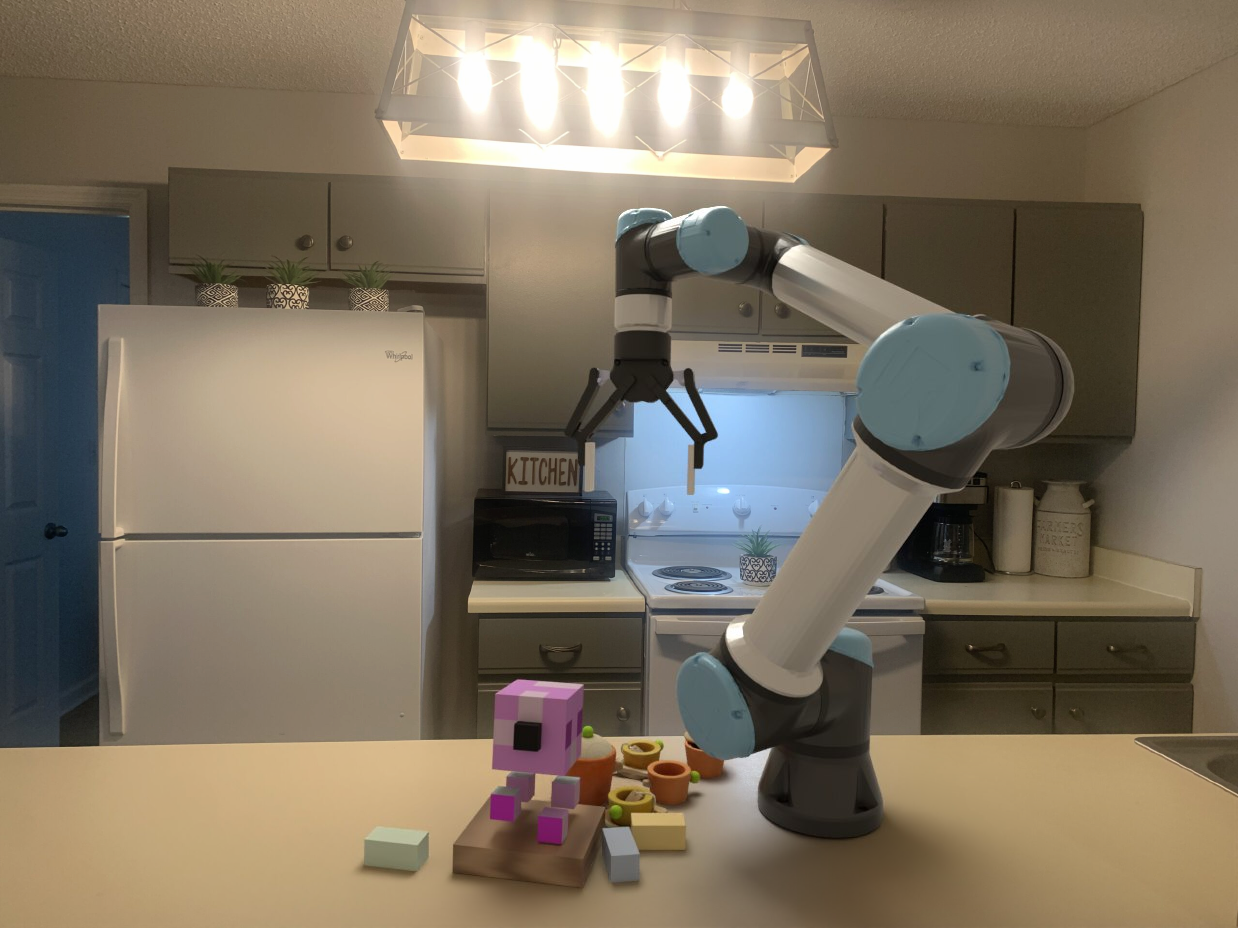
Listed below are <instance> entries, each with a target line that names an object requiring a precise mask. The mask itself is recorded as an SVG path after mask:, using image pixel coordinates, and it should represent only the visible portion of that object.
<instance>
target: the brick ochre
mask: <svg viewBox="0 0 1238 928" xmlns="http://www.w3.org/2000/svg"><path fill="white" fill-rule="evenodd" d="M631 833H632V836H633V838H634V841H635V843H636V846H637V848H638V851H645V850H646V851H649V850H650V851H657V850H658V851H659V850H660V851H661V850H662V851H677V850H678V851H679V850H680V851H682V850H683V851H685V850H686V840H687V839H686V837H687V836H686V835H687V825H686V821H685V817H684V813H683V812H668V813H631Z"/></svg>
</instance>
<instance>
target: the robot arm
mask: <svg viewBox="0 0 1238 928" xmlns="http://www.w3.org/2000/svg"><path fill="white" fill-rule="evenodd" d="M614 249H615V272H614V273H615V274H614V275H615V284H614V287H615V290H614V291H615V299H614V322H613V323H614V325H613V326H614V328H615V329H616V330H617V331H618V332H616V333H615V335H614V337H613V338H614V339H613V366H612V368H611V370H605V369H599V368H598V367H591V368H590V370H589V374H588V381H587V385H586V387H585V389H584V391H583V393H582V395H581V397H580V399H579V401H578V403H577V404H576V405H577V406H576V407H575V409H574V411H573V413H572V415H571V417H570V419H569V421H568V422H567V425H566V426H565V429H564V431H563V433H564V434H563V435H565V437H567V438H571V439H573V440H576V443H577V464H578V467H580V466H581V467H584V492H587V493H588V492H589V493H591V492H594V491H595V469H596V467H595V466H596V465H595V464H596V463H595V462H596V442H590V440H591V438H592V437H593V436H594V435H595V434H596V433H597V432H598V430H599V429H600V428H601V427H602V426H603V424H604V423H605V422H606V421H607V420H608V418H609V417H610V416H611V415H612V414H614V411H615V410H616V409H617V408H618V407H619V406H620V405H621V404H622V403H623V402H624V401H626V402H629V403H632V404H633V403H635V404H637V403H641V402H645V403H648V404H654V403H656V402H658V401H660V402H661V403H662V405H663V406H664V407H665V408H666V409H667V410H668V411H669V412H670V414H671V415H672V416H673V418H674V419H675V420H676V422H677V423H678V424H679V426H681V427H682V429H683V430H684V431H685V432H686V433H687V435H688V436H689V437H690V439H691V440H692V441H693V444H688V445H687V470H686V471H687V474H686V477H687V478H686V483H687V484H686V495H687V496H694V495H695V487H696V486H695V485H696V483H695V482H696V470H701V469H703V467H704V463H705V462H704V461H705V460H704V459H705V458H704V457H705V455H704V453H705V445H706V444H707V443H708V442H711V441H714V440H717V438H718V437H719V434H718V430H717V429H716V427H715V424H714V422H713V421H712V418H711V416H710V414H709V412H708V409H707V407H706V406H705V404H704V401H703V399H702V397H701V395H700V392H699V391H698V389H697V386H696V377H695V371H694V370H693V368H692V369H691V368H690V367H687V368H685V369H681V370H673V369H672V366H671V364H672V363H671V362H672V358H671V357H672V355H671V354H672V336H671V335H670V333H668V331H670V330H671V329H672V322H673V321H672V318H673V317H672V313H673V312H672V310H673V309H672V308H673V302H672V301H673V292H672V291H673V283H674V282H678V281H682V280H687V279H695V278H696V279H697V278H698V279H706V280H709V281H710V280H712V281H717V282H721V283H723V282H724V283H728V284H734V285H737V286H739V285H740V286H745V287H749V288H754V289H756V290H760V291H762V292H763V293H765V294H767V295H769V296H771V297H773V298H775V299H777V300H779V301H781V302H783V303H784V304H786V305H788V306H790V307H792V308H794V309H796V310H797V311H800V312H801V313H803V314H805V315H807V316H808V317H810V318H812V319H814V320H815V321H817V322H819V323H821V324H823V325H825V326H827V327H829V328H830V329H832V330H834V331H835V332H838V333H839V334H841V335H843V336H844V337H847V338H849V339H850V340H852V341H853V342H856V343H857V344H860V345H861V346H863V347H865V348H867V349H868V350H867V351H866V353H865V354H864V356H863V359H862V360H861V362H860V365H859V367H858V370H857V374H856V377H855V378H856V379H855V385H854V387H855V389H857V393H858V396H856V397H855V406H856V410H857V413H856V415H855V417H854V419H853V420H852V422H851V431H852V434H853V437H854V441H855V444H856V447H855V448H854V450H853V451H852V453H851V455H850V456H849V458H848V459H847V461H846V462H845V465H844V466H843V467H842V469H841V471H840V472H839V473H838V476H837V477H836V479H835V481H834V482H833V483H832V485H831V487H830V488H829V490H828V492H827V493H826V495H825V496H824V497H823V499H822V500H821V503H820V504H819V506H818V508H817V509H816V510H815V512H814V514H813V516H812V517H811V519H810V520H809V522H808V523H807V526H806V527H805V528H804V530H803V532H802V533H801V534H800V536H799V538H798V540H797V541H796V543H795V544H794V546H793V547H792V549H791V550H790V552H789V554H788V556H787V558H786V559H785V560H784V562H783V564H782V565H781V567H780V568H779V570H778V571H777V573H776V575H775V577H774V578H773V580H772V582H771V583H770V585H769V586H768V587H767V589H766V591H765V593H764V594H763V596H762V597H761V598H760V601H759V602H758V604H757V605H756V607H755V608H754V610H753V612H752V613H746V614H742V615H738V616H736V617H735V618H733V619H732V620H731V621H730V622H729V624H728V625H727V626H726V628H725V630H724V631H723V633H722V635H721V636H720V638H719V639H718V641H717V643H716V644H715V646H714V647H713V648H712V649H711V650H710V651H708V652H705V651H700V652H697V653H696V654H694V655H692V656H689V657H688V658H686V659H685V660H684V661H683V663H682V664H681V665H680V668H679V669H678V673H677V676H676V680H675V698H676V701H677V702H676V703H677V707H678V713H679V715H680V718H681V721H682V723H683V726H684V728H685V729H686V730H685V731H687V732H688V734H689V735H690V737H691V738H692V740H693V741H694V742H695V744H696V745H697V746H698V747H699V748H700V749H701V750H702V751H704V752H705V753H706V754H708V755H709V756H711V757H713V758H717V759H720V760H724V761H730V760H734V759H744V758H746V759H747V758H749V757H750V756H751V755H754V754H757V753H760V752H763V751H767V750H769V749H770V751H769V754H768V757H767V758H766V762H765V765H764V767H763V770H762V772H761V774H760V775H761V776H760V778H759V780H758V786H757V806H758V808H759V811H760V812H761V813H762V815H764V816H765V817H766V818H767V819H769V820H770V821H771V822H773V823H775V824H777V825H779V826H781V827H783V828H785V829H788V830H790V831H794V832H797V833H801V834H804V835H809V836H814V837H820V838H821V837H823V838H835V839H836V838H837V839H838V838H852V837H858V836H863V835H866V834H868V833H871V832H872V831H875V830H876V829H877V828H878V827H880V826H881V824H882V822H883V819H884V817H883V816H884V800H883V799H884V798H883V794H882V791H881V787H880V784H879V781H878V778H877V775H876V771H875V767H874V764H873V761H872V757H871V753H870V752H871V751H870V750H871V747H870V746H871V723H872V722H871V720H872V718H871V717H872V690H873V689H872V687H873V669H874V668H875V664H874V662H873V645H872V644H873V643H872V641H871V639H870V638H869V637H868V636H867V635H866V634H865V633H863V632H862V631H859V630H857V629H854V628H850V627H847V626H846V624H847V623H848V622H849V621H850V619H851V618H852V617H853V615H854V613H855V612H856V610H858V608H859V606H860V605H861V603H862V602H863V600H864V599H865V598H866V596H867V595H868V594H869V593H870V591H871V589H872V588H873V587H874V585H875V584H876V582H877V581H878V580H879V578H880V577H881V575H882V574H883V573H884V571H885V570H886V568H887V567H888V565H889V564H890V563H891V561H892V560H893V558H894V557H895V556H896V554H897V553H898V551H899V550H900V549H901V547H903V544H904V543H905V541H906V540H907V539H908V537H909V536H910V535H911V533H912V532H913V530H914V529H915V528H916V527H917V525H918V523H919V522H920V521H921V519H922V518H923V516H924V515H925V513H926V512H927V511H928V509H929V508H930V507H931V505H932V504H933V502H934V500H935V499H936V498H937V497H938V496H939V495H942V494H949V493H950V494H951V493H956V492H957V493H958V492H960V491H962V490H963V489H965V487H966V486H967V485H968V483H969V482H970V481H971V479H972V478H973V477H974V475H975V474H976V473H977V471H978V469H980V467H981V466H982V464H983V463H984V461H985V460H986V458H987V457H989V455H990V453H991V451H993V450H1009V449H1010V450H1011V449H1017V448H1023V447H1026V446H1030V445H1032V444H1035V443H1037V442H1038V441H1040V440H1041V439H1044V438H1045V437H1047V436H1048V435H1049V434H1051V433H1052V432H1054V430H1056V429H1057V428H1058V426H1059V425H1060V424H1061V422H1063V420H1064V418H1066V416H1067V414H1068V412H1069V410H1070V407H1071V405H1072V402H1073V397H1074V394H1075V377H1074V376H1075V375H1074V372H1073V368H1072V365H1071V363H1070V361H1069V359H1068V357H1067V355H1066V353H1065V352H1064V351H1063V349H1062V348H1061V346H1059V345H1058V344H1057V343H1056V342H1055V341H1054V340H1053V339H1051V338H1049V337H1048V336H1046V335H1045V334H1043V333H1041V332H1039V331H1036V330H1034V329H1032V328H1031V329H1030V328H1026V327H1023V326H1014V325H1011V324H1008V323H1005V322H1003V321H1001V320H997V319H995V318H992V317H991V316H989V315H986V314H982V313H981V314H974V315H969V314H964V313H956V312H954V311H953V310H950V309H948V308H945V307H943V306H942V305H939V304H937V303H935V302H932V301H930V300H928V299H926V298H924V297H922V296H920V295H917V294H916V293H912V292H911V291H908V290H906V289H904V288H902V287H900V286H898V285H895V284H894V283H891V282H890V281H888V280H885V279H883V278H881V277H878V276H876V275H873V274H872V273H869V272H867V271H866V270H863V269H861V268H858V267H856V266H854V265H852V264H849V263H847V262H845V261H843V260H841V259H839V258H836V257H834V256H833V255H830V254H828V253H826V252H823V251H822V250H819V249H817V248H815V247H813V246H811V244H809V243H808V241H807V240H805V239H804V238H801V237H799V236H797V235H794V234H792V233H789V232H786V231H777V230H772V229H768V228H765V227H764V228H763V227H759V226H754V225H752V224H748V223H745V221H744V219H743V217H741V216H739V214H737V212H736V210H734V209H733V208H731V207H728V206H721V205H720V206H713V207H702V208H700V209H696V210H694V211H693V212H690V213H688V214H684V215H680V216H678V217H673V216H672V214H671V213H670V212H668V211H666V210H663V209H661V208H660V209H659V208H653V207H652V208H651V207H644V208H643V207H641V208H639V209H638V208H636V209H635V208H633V209H628V210H626V211H624V212H622V213H621V214H620V216H619V217H618V219H617V225H616V238H615V243H614ZM608 380H610V382H612V384H613V385H614V387H615V390H614V391H613V392H612V393H611V395H610V396H609V398H608V399H607V400H606V402H605V403H604V404H603V405H602V406H601V407H600V408H599V410H598V411H597V412H596V413H595V414H594V415H593V416H592V418H591V419H590V420H589V421H588V422H587V424H586V425H585V426H584V427H583V428H582V429H581V426H582V425H583V422H584V421H585V419H586V417H587V415H588V413H589V411H590V409H591V407H592V405H593V403H594V401H595V399H596V397H597V395H598V393H599V390H600V388H601V386H604V385H605V384H606V382H607V381H608ZM674 380H677V381H678V384H679V385H680V386H681V387H685V391H686V393H687V395H688V397H689V399H690V401H691V403H692V406H693V409H694V410H695V412H696V415H697V416H698V418H699V421H700V423H701V425H702V427H703V430H704V431H705V432H703V433H701V432H700V431H699V430H698V428H697V426H695V425H694V424H693V422H692V421H691V420H690V418H689V417H688V416H687V414H685V412H684V411H683V410H682V409H681V407H680V406H679V405H678V404H677V402H676V401H675V399H673V397H672V396H671V394H669V392H668V391H667V390H668V389H669V387H670V386H671V384H672V383H673V382H674ZM580 429H581V430H580Z"/></svg>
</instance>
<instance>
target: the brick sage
mask: <svg viewBox="0 0 1238 928" xmlns="http://www.w3.org/2000/svg"><path fill="white" fill-rule="evenodd" d="M429 839H430V831H428V830H427V831H425V830H417V829H409V828H399V827H398V828H397V827H388V826H387V827H386V826H382V825H381V826H380V825H377V826H376V827H375V828H374V829H373V830H372V831H371V832H370V833H369V834H368V835H367V836H366V837H365V838H364V841H363V842H364V844H363V845H364V847H363V848H364V849H363V850H364V851H363V853H364V854H363V855H364V856H363V859H364V860H363V861H364V862H363V864H364V866H369V867H374V868H375V867H376V868H377V867H378V868H386V869H393V870H394V869H395V870H402V871H412V872H418V871H419V870H420V869H421V868H422V866H423V865H424V864H425V862H426V861H427V860H428V858H429V856H430V855H429V854H430V853H429V851H430V849H429V848H430V845H429V843H430V840H429Z"/></svg>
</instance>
